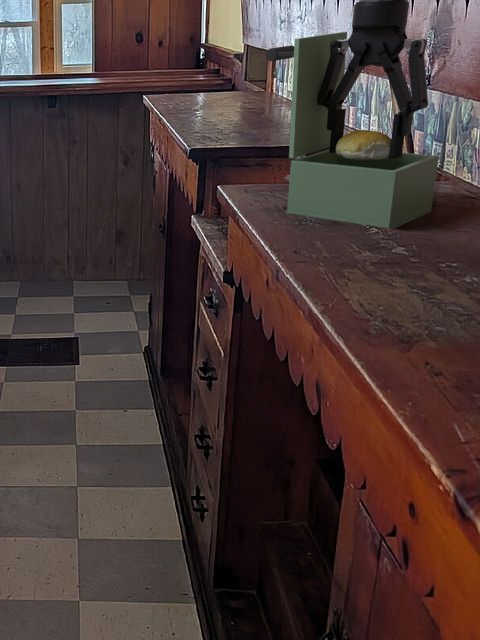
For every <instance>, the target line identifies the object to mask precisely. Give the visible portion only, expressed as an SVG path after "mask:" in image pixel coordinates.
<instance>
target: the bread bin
mask: <svg viewBox="0 0 480 640" xmlns="http://www.w3.org/2000/svg"><path fill="white" fill-rule="evenodd" d="M439 159H440V155H433V154H422V153H410V152H402V156H401V157H398V158H395V159H390V158H387V159H382V160H351V159H347V158H345V157H341V156H339V155H338V154H337V153H329V149H326V150H322V151H318V152H316V153H312V154H308V155H307V156H306V155H305V157H303V158H300V159H296V158H295V159H294V160H293V159H292V160H291V161H290V171H289V175H290V182H289V181H288V195H287V208H286V209H287V210H286V214H291V215H297V216H303V217H310V218H318V219H325V220H331V221H337V222H344V223H350V224H357V225H363V226H364V225H365V226H370V227H377V228H382V229H383V228H384V229H389V230H394V229H397V228H399V227H401V226H403V225H406V224H408V223H410V222H412V221H414V220H416V219H419V218H421V217H423V216H425V215H428V214H430V213H431V212H432V206H433V199H434V195H435V188H436V187H435V186H436V179H437V172H438V165H439Z"/></svg>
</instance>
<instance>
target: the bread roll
mask: <svg viewBox="0 0 480 640" xmlns="http://www.w3.org/2000/svg"><path fill="white" fill-rule="evenodd" d="M391 138H392V137H389V135H387V134H386V133H384V132H380V131H377V130H369V129H359V130H358V129H357V130H354V131H351V132H348V133H346V134H343V137H342V138H341V139H340V140H339V141H338V143H337V145H336V153H337V154H338V155H339V156H341V157H345V158H347V159H351V160H382V159H387V158H389V154H390V146H391Z"/></svg>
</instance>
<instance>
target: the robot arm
mask: <svg viewBox="0 0 480 640" xmlns="http://www.w3.org/2000/svg"><path fill="white" fill-rule="evenodd" d="M409 8H410V2H409V0H358V1H357V2H355V4H354V5H353V11H352V21H351V23H352V24H351V29H352V31H351V34H350V36H349V37H348V38H347V39H346V40H343V39H338V40H333V41H331V43H330V59H329V62H328V65H327V69H326V72H325V75H324V79H323V82H322V85H321V89H320V92H319V96H318V99H317V104H318V105H322V106H324V107H326V108H327V109H328V118H327V130H331V138H330V147H329V148H328V150H329V153H336V145H337V143H338V141H339V140H340V139H341V138H342V137H343V136H344V135H345V123H346V114H347V113H346V112H347V108H343V107H344V105H343V104H344V103H345V101H346V99H347V98H348V96H349V94H350V92H351V90H352V88H353V87H354V85H355V83H356V82H357V80H358V78H359V76H360V75H361V73H362V71H364V70H365V68H366V67H370V66H374V67H377V68H378V67H379V68H380V67H381V68H382V70H383V72H384V73H386V76H387V79H388V82H389V84H390V87H391V90H392V93H393V96H394V98H395V102H396V104H397V107H398V110H399V111H398V112H397V113H395V114H393V123H392V131H391V137H390V138H391V146H390V154H389V158H390V159H395V158H398V157H401V156H402V153H403V149H404V143H405V137H406V136H410V134H411V132H412V126H413V119H414V114H415V113H416V112H417V111H421V110H425V109H427V108H428V106H429V98H428V96H429V95H428V85H427V76H426V63H425V52H426V48H427V44H428V41H427V40H426V39H425V38H419V39H415V38H408V36H407V31H406V28H407V26H408V19H409ZM404 48H405V51H406V52H405V53H406V54H407V55H408V58H407V60H408V70H409V72H408V73H409V81H410V88H409V86H408V85H409V84H408V83H407V79H406V77H405V73H404V71H403V69H402V67H403V64H402V61H401V58H400V53H401V52H402V51H403V50H404ZM349 49H350V50H351V53H352V54H353V56H352V58H351V59H350V61H349V63H348V65H347V69H346V70H345V72H344V76H343V78H342V80H341V82H340V83H339V85H338V87H337V89H336V90H335V87H336V84H337V81H338V77H339V74H340V71H341V68H342V64H343V61H344V58H345V53H346V54H347V53H348V51H349ZM345 59H346V58H345ZM334 90H335V92H334ZM341 107H342V109H340V108H341Z"/></svg>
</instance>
